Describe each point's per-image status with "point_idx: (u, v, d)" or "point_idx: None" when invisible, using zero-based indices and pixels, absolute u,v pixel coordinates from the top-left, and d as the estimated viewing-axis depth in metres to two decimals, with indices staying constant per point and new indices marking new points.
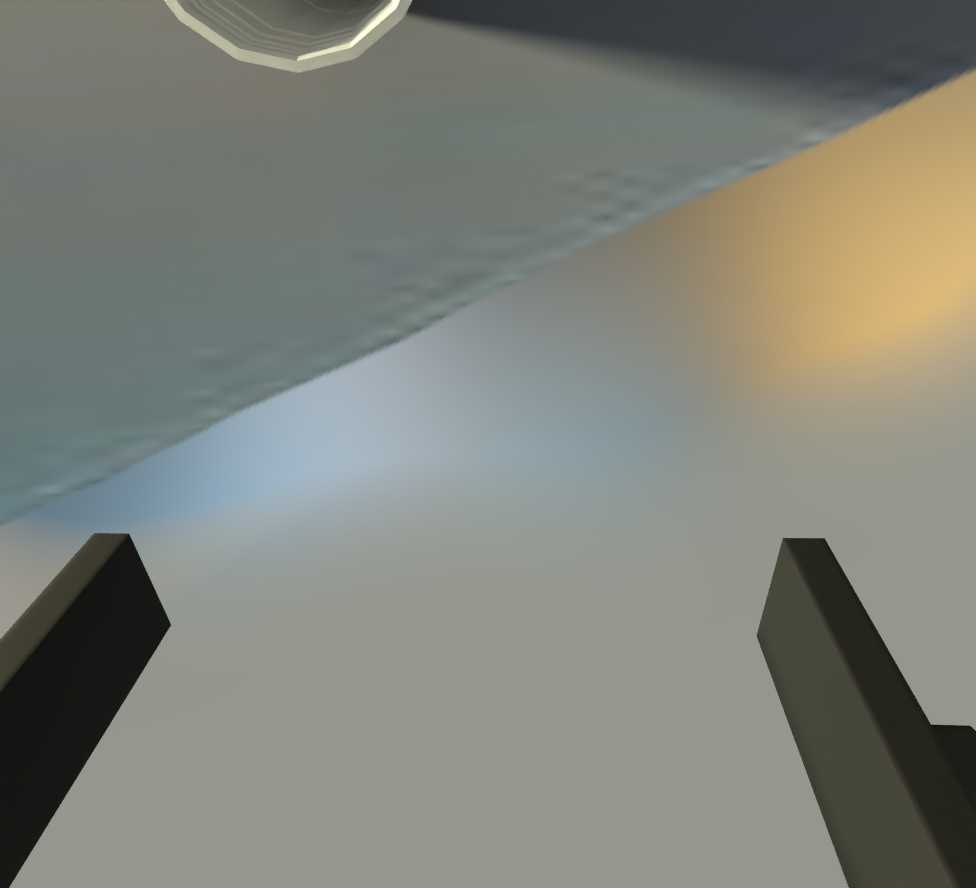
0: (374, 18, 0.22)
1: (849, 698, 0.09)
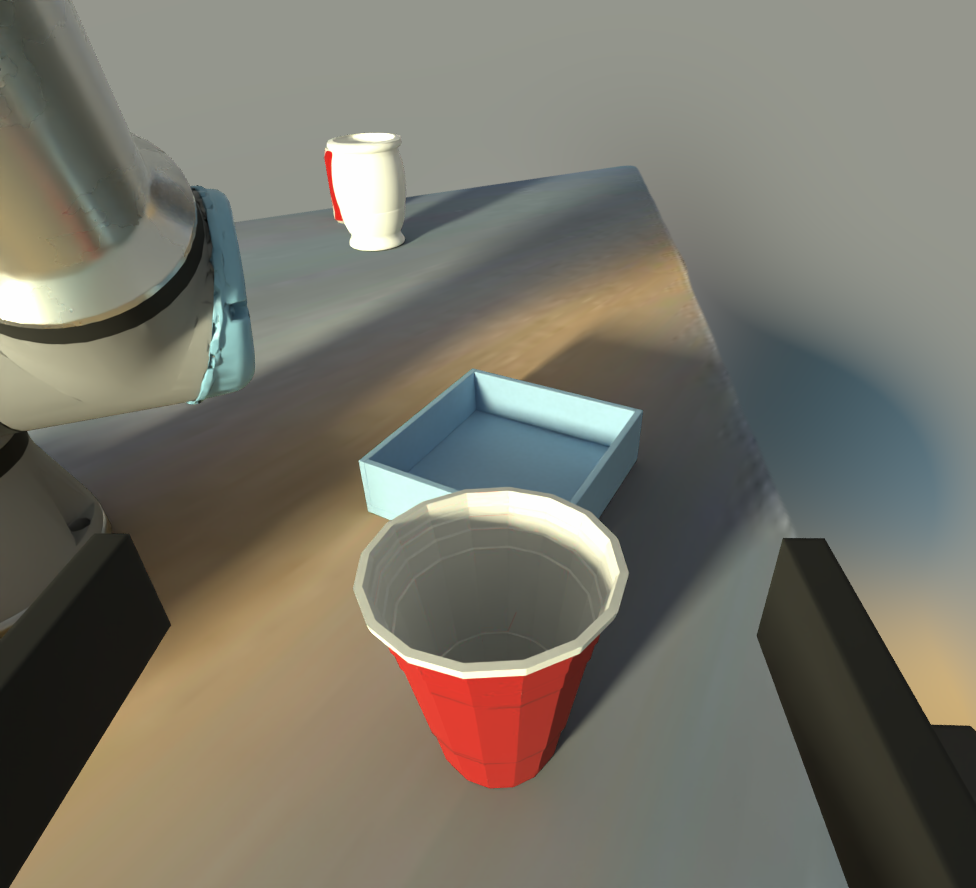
0: (604, 573, 0.26)
1: (849, 698, 0.09)
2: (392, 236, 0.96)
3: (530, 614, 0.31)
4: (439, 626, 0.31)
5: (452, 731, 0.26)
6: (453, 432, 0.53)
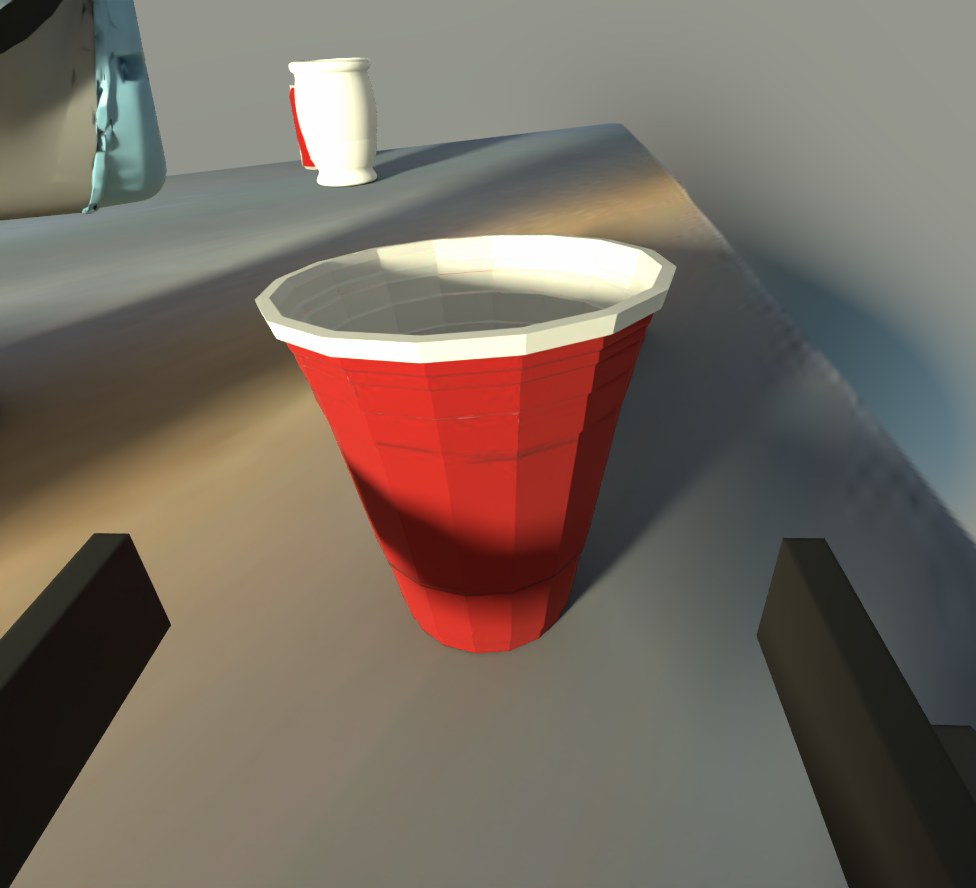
0: None
1: (849, 698, 0.09)
2: (363, 170, 0.88)
3: None
4: None
5: (415, 533, 0.17)
6: None
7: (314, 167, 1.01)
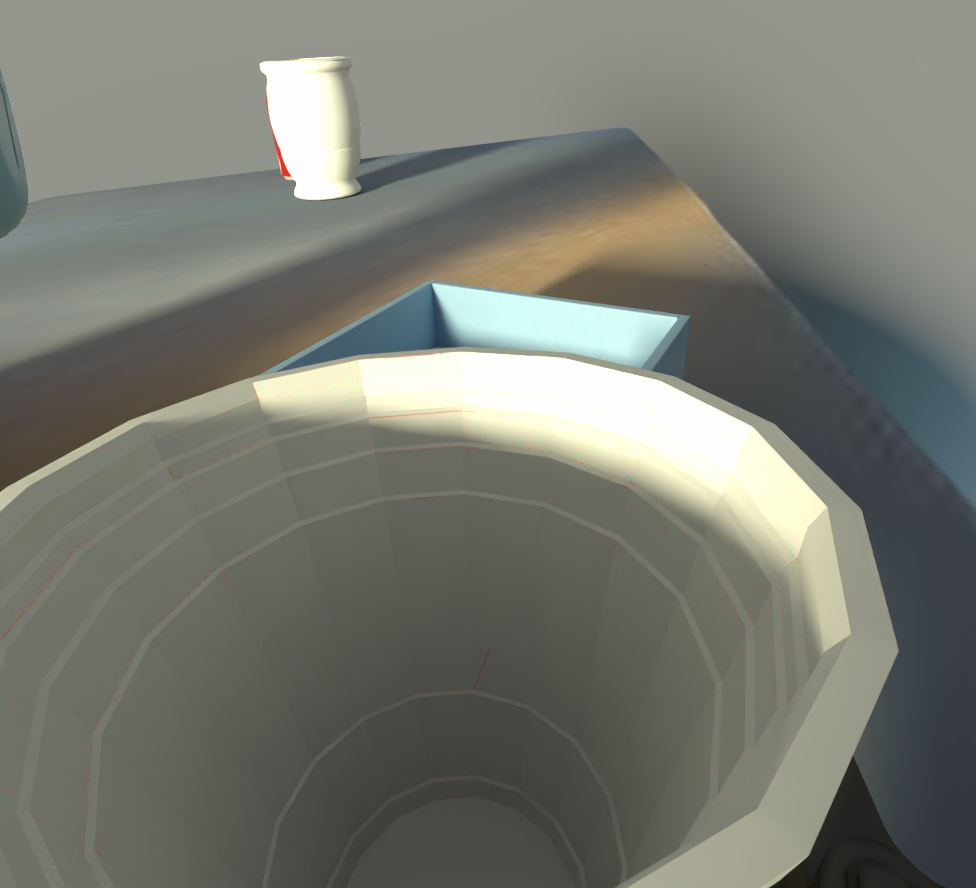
0: (743, 527, 0.08)
1: None
2: (345, 182, 0.79)
3: (522, 650, 0.14)
4: (309, 686, 0.13)
5: None
6: None
7: None
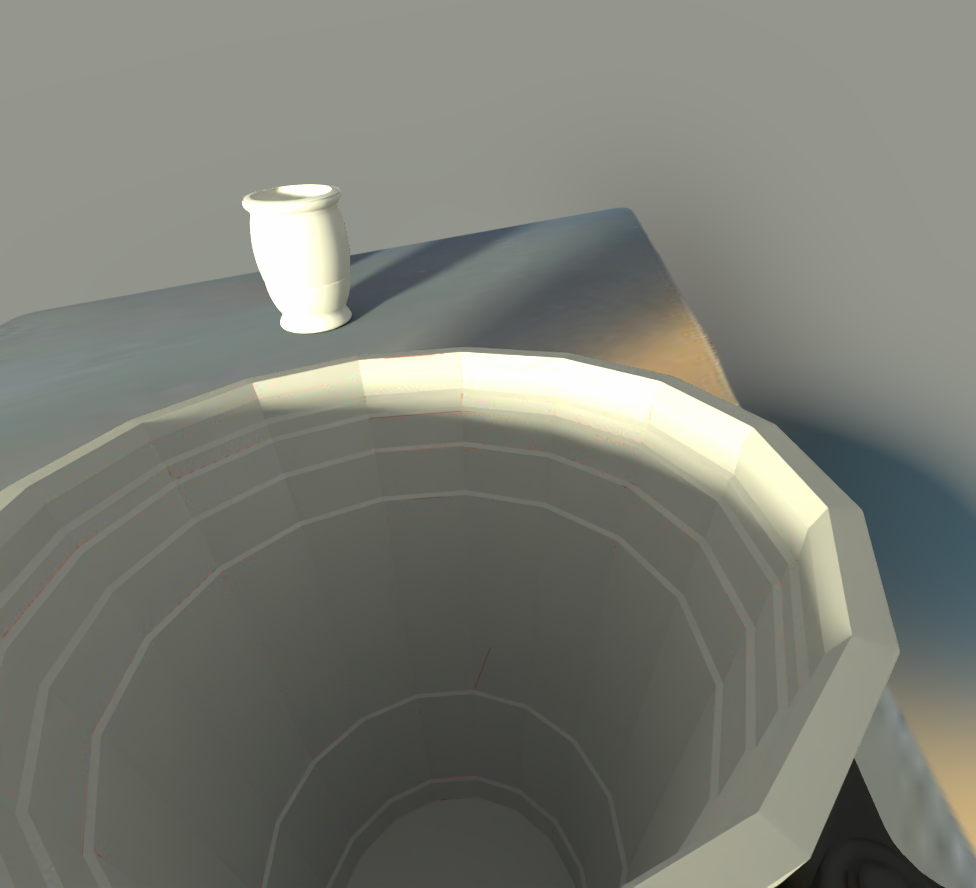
0: (743, 528, 0.08)
1: None
2: (334, 314, 0.75)
3: (522, 651, 0.14)
4: (309, 687, 0.13)
5: None
6: None
7: None
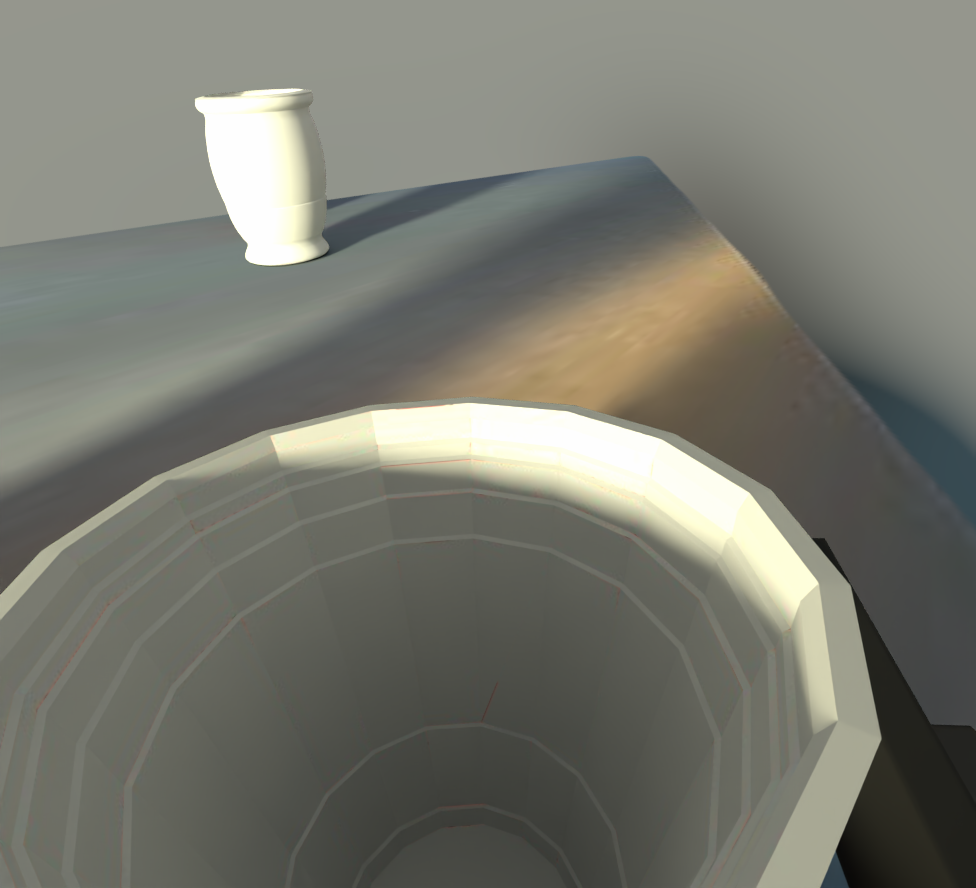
0: (740, 590, 0.09)
1: None
2: (308, 243, 0.64)
3: (528, 686, 0.14)
4: (323, 723, 0.14)
5: None
6: None
7: None
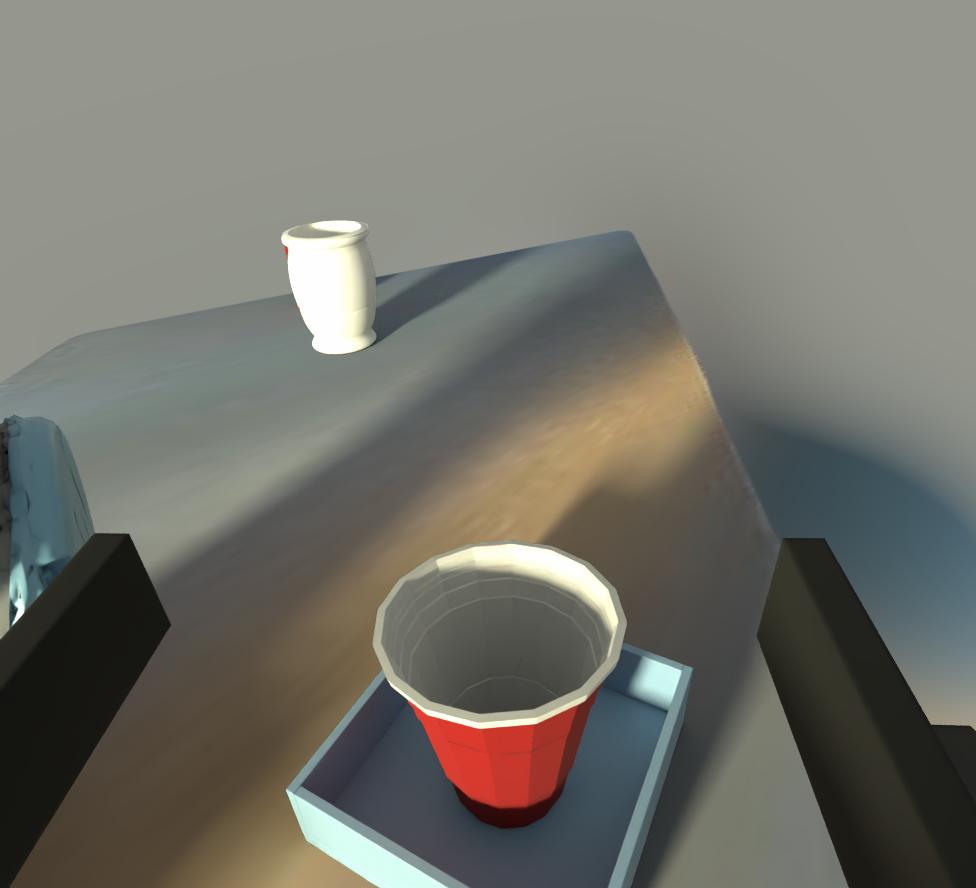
0: (604, 622, 0.28)
1: (849, 698, 0.09)
2: (361, 336, 0.83)
3: (535, 659, 0.33)
4: (450, 673, 0.33)
5: (467, 776, 0.27)
6: None
7: None
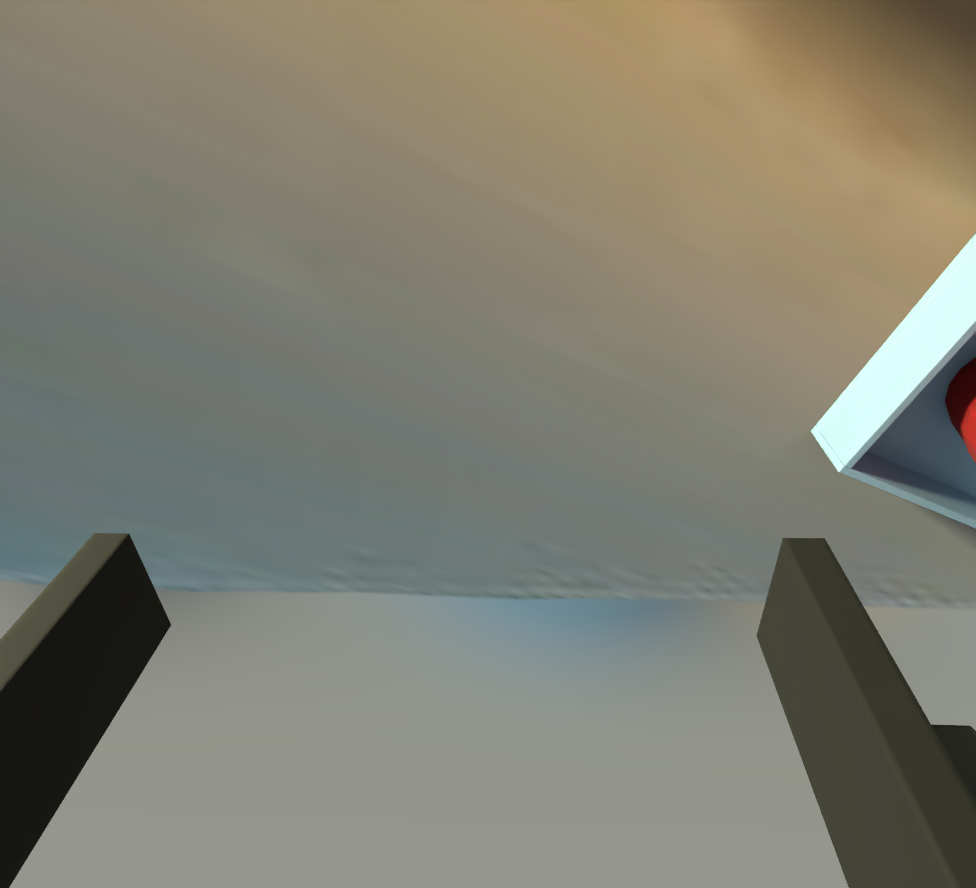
0: None
1: (849, 698, 0.09)
2: None
3: None
4: None
5: None
6: None
7: None
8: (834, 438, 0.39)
